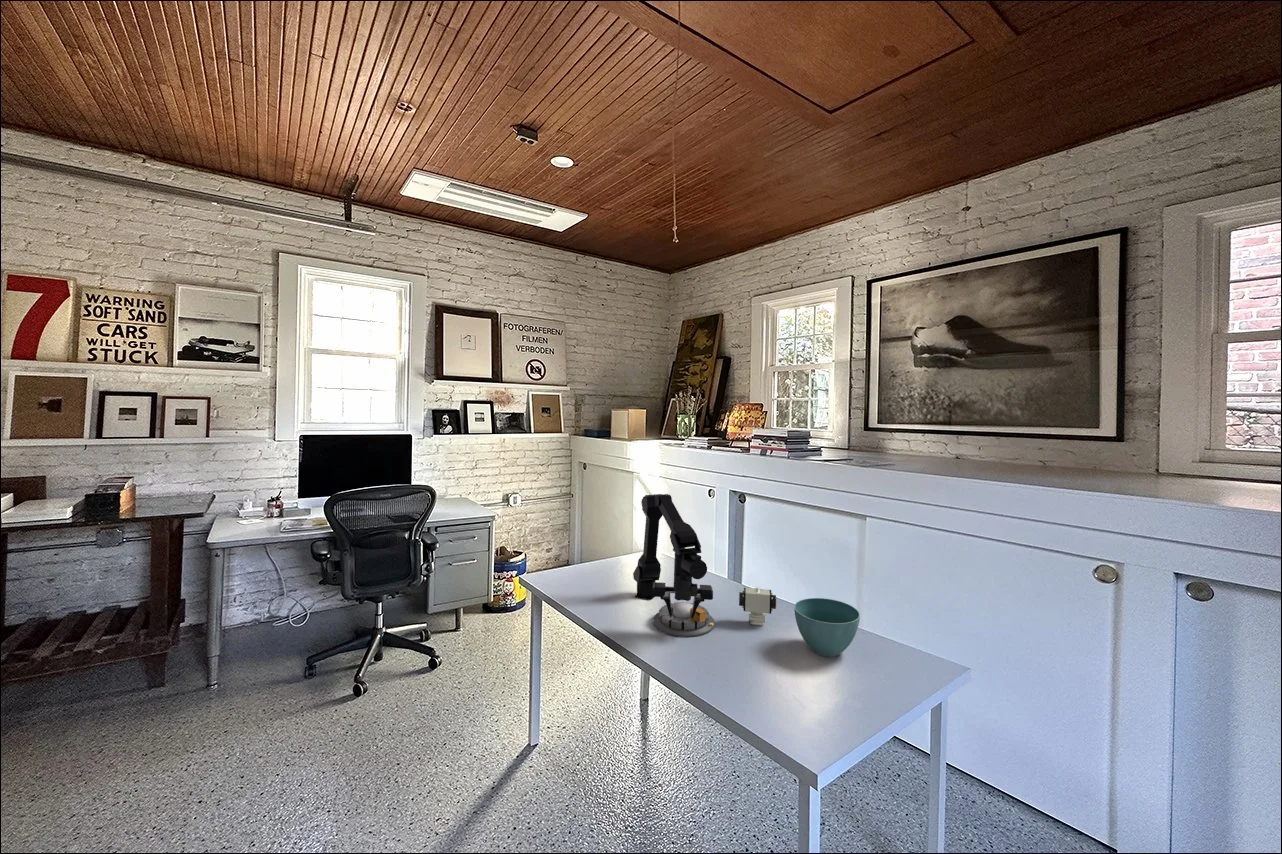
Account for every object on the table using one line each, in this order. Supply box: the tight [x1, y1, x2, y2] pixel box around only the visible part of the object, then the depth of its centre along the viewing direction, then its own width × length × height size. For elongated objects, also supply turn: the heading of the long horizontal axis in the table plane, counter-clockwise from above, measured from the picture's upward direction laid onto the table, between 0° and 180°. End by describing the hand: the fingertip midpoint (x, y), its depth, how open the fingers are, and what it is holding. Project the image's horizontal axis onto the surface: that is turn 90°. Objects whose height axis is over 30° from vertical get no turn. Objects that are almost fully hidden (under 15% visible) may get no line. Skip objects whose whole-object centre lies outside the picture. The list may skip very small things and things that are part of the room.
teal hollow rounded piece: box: [793, 597, 861, 658], centre depth 156 cm, size 18×18×12 cm
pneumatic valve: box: [738, 587, 777, 627], centre depth 174 cm, size 6×12×12 cm, turn 78°
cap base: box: [652, 602, 715, 638], centre depth 173 cm, size 20×20×6 cm
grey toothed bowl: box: [658, 601, 710, 631], centre depth 173 cm, size 16×17×5 cm
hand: (681, 617), depth 166 cm, fingers open, 6 cm apart
